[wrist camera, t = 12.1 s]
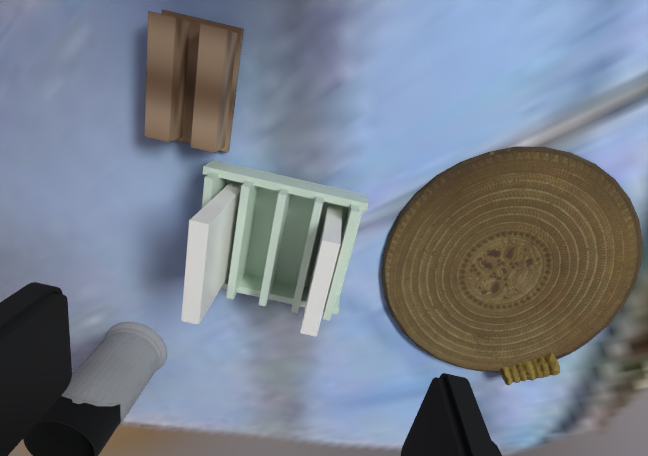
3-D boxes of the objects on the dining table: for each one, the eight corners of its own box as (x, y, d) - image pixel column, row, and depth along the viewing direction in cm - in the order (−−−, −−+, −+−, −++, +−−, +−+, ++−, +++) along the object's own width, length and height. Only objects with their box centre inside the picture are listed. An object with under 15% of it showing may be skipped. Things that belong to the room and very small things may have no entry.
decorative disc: (616, 96, 35) (680, 343, 43) (595, 96, 38) (658, 326, 46) (340, 220, 42) (441, 415, 50) (342, 211, 45) (436, 396, 53)
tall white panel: (232, 180, 41) (189, 219, 30) (246, 183, 41) (209, 224, 30) (222, 259, 45) (181, 320, 34) (235, 262, 45) (198, 324, 34)
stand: (165, 10, 36) (145, 3, 32) (243, 29, 36) (231, 24, 33) (160, 134, 41) (141, 141, 37) (229, 150, 41) (217, 158, 37)
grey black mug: (171, 332, 51) (104, 429, 37) (158, 405, 56) (95, 514, 42) (107, 314, 50) (16, 405, 37) (100, 390, 56) (18, 494, 42)
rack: (216, 157, 41) (172, 185, 31) (366, 192, 42) (372, 230, 32) (204, 266, 47) (164, 319, 36) (338, 295, 47) (335, 356, 37)
